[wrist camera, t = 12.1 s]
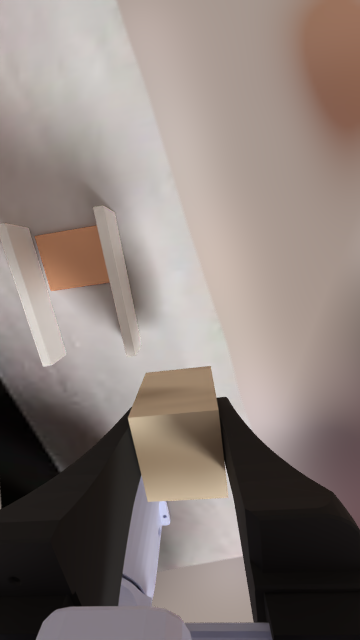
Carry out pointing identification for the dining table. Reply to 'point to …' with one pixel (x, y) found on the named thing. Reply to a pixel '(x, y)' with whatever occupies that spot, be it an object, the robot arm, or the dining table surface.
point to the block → (179, 436)
